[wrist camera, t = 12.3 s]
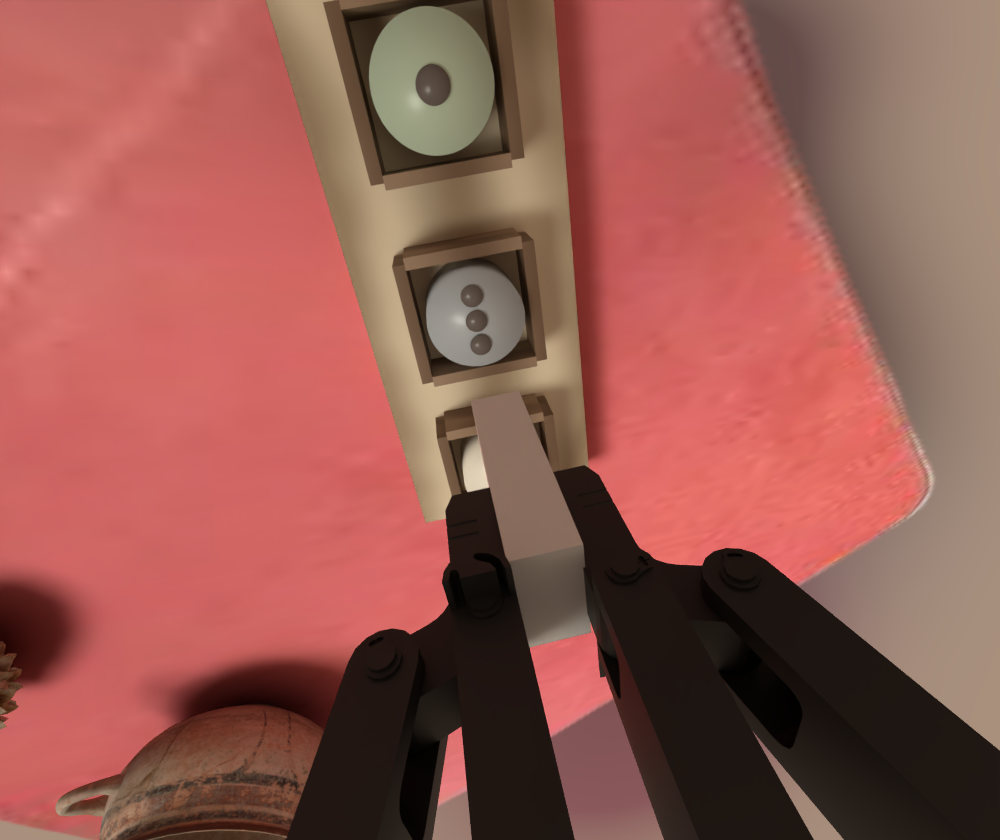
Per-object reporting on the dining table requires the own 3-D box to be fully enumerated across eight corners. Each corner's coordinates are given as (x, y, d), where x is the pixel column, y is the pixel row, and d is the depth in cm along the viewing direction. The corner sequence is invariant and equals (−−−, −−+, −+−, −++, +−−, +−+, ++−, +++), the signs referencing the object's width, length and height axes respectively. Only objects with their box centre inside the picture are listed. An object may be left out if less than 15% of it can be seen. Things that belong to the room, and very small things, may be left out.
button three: (436, 353, 29) (438, 375, 26) (415, 266, 26) (415, 282, 24) (520, 336, 29) (531, 357, 27) (508, 248, 27) (518, 262, 24)
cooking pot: (418, 700, 51) (419, 848, 40) (328, 792, 57) (308, 941, 46) (156, 627, 41) (66, 798, 30) (81, 747, 47) (-15, 924, 37)
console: (425, 496, 38) (426, 547, 33) (274, -13, 23) (236, -51, 18) (578, 463, 39) (601, 510, 34) (533, -55, 23) (563, -103, 18)
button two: (468, 486, 34) (472, 517, 31) (453, 425, 32) (456, 452, 29) (539, 471, 34) (549, 500, 32) (530, 409, 32) (541, 435, 29)
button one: (391, 161, 24) (388, 165, 21) (360, 31, 21) (352, 17, 19) (493, 143, 24) (503, 144, 21) (475, 11, 22) (483, -5, 19)
